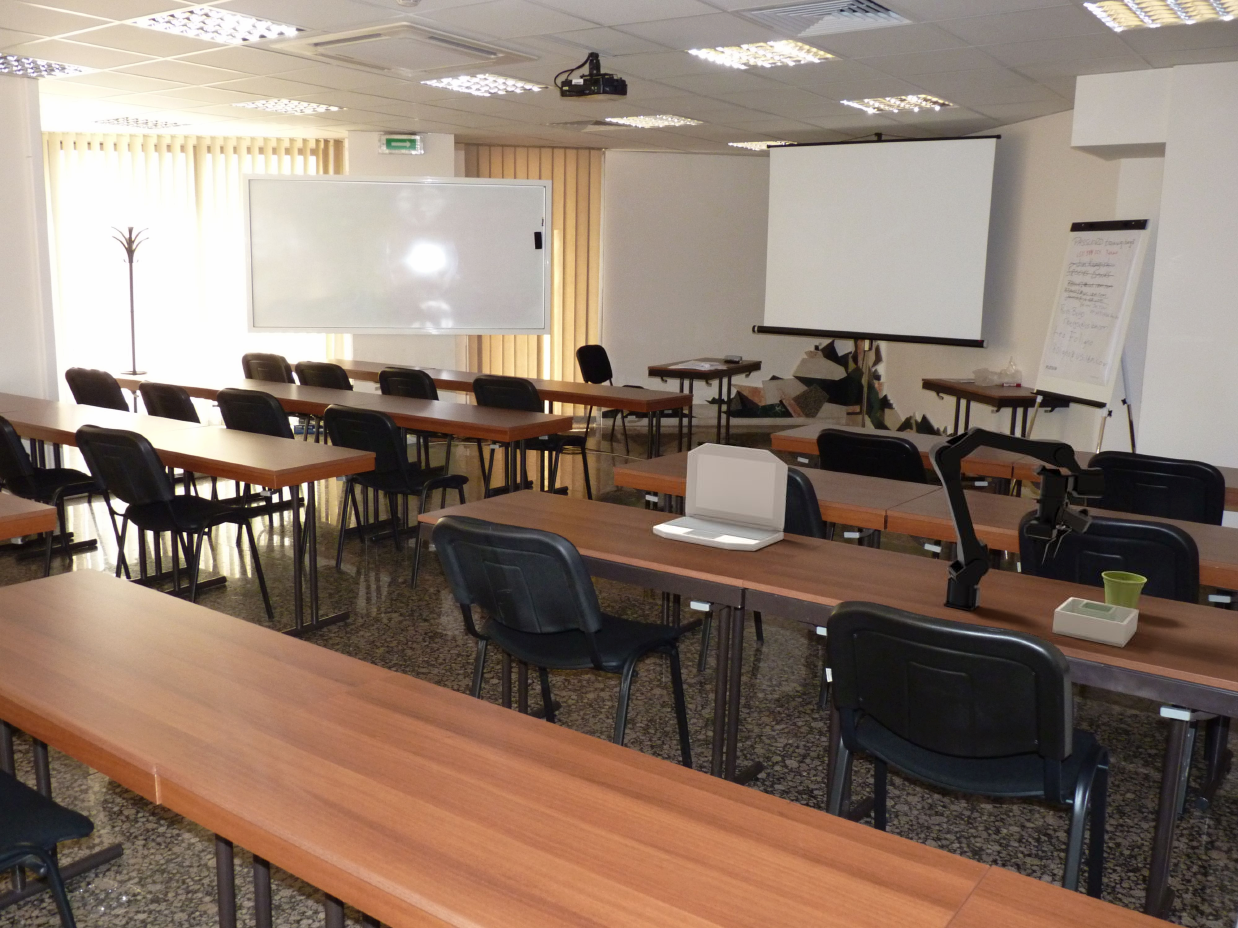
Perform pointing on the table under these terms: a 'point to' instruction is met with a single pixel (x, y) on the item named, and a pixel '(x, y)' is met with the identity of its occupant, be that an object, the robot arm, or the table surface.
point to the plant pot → (1122, 588)
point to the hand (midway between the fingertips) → (1045, 561)
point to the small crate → (1097, 610)
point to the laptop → (731, 499)
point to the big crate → (1095, 624)
